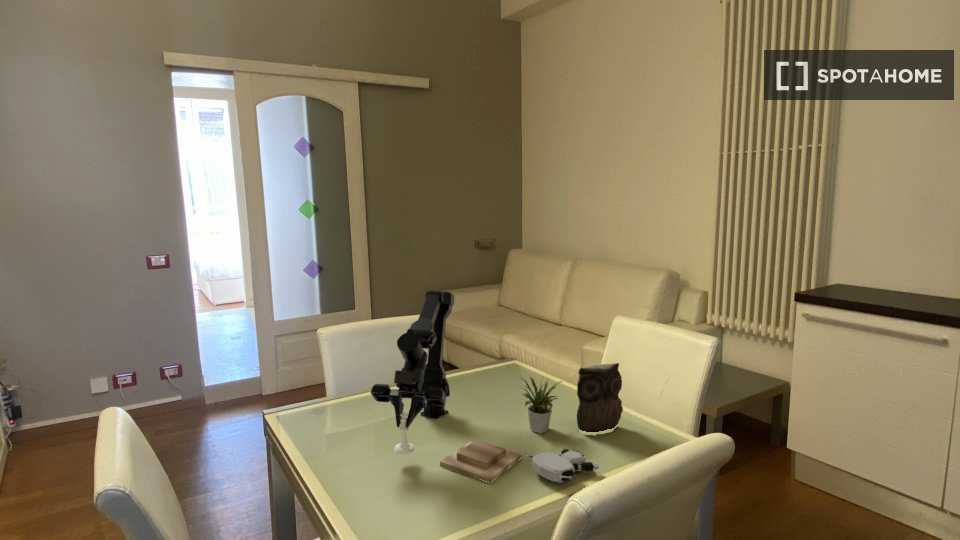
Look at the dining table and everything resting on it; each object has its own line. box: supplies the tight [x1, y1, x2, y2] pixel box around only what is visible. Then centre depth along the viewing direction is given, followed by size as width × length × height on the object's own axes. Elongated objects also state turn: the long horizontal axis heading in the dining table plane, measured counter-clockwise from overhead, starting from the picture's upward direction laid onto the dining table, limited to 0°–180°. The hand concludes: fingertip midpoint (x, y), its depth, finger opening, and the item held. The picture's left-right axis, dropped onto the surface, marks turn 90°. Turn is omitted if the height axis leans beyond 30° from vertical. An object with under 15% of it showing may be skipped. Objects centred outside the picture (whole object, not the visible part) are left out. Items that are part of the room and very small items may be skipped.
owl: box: [576, 362, 624, 432], centre depth 151 cm, size 13×13×20 cm
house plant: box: [516, 375, 563, 434], centre depth 152 cm, size 14×14×16 cm
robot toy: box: [525, 448, 600, 484], centre depth 128 cm, size 12×4×15 cm
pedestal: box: [439, 438, 523, 484], centre depth 133 cm, size 15×15×3 cm
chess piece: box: [394, 411, 415, 455], centre depth 131 cm, size 5×5×10 cm
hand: (402, 427), depth 129 cm, fingers closed on chess piece
